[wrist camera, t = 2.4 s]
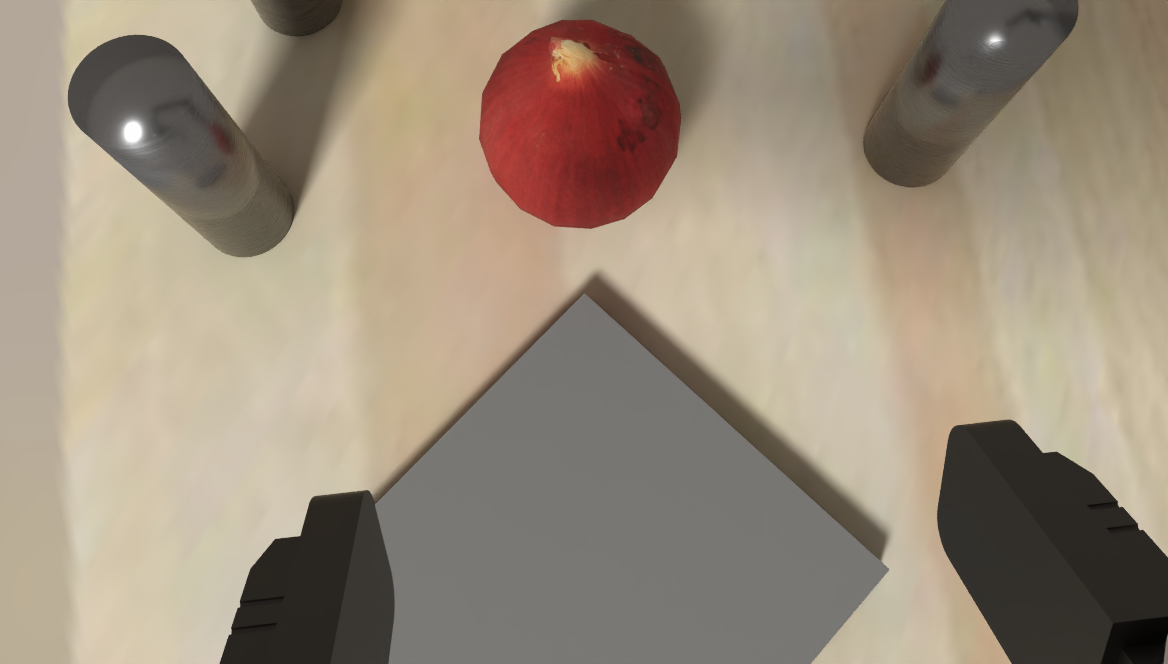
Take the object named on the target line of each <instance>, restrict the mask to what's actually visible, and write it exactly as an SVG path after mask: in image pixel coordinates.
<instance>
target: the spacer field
mask: <svg viewBox="0 0 1168 664" xmlns="http://www.w3.org/2000/svg"><path fill="white" fill-rule="evenodd" d="M251 2H252V3H253V5H254V7H255V8H256V10H257V12H258V14H259V15H260V17H261V18H262V20H263V21H264V23H265V24H266V25H267V26H269V27H270V28H271V29H273V30H274V31H276V32H279V33H281V34H285V35H290V36H302V35H308V34H311V33H314V32H316V31H319V30H320V29H322V28H324V27H325V26H326V25H328V24H329V23H330V22H331V21H332V20H333V19H334V17H335V16H336V15H337V13H338V11H339V9H340V6H341V3H342V0H251ZM1077 16H1078V0H946V2H945V3H944V5H943V6H942V8H941V10H940V11H939V13H938V14H937V16H936V17H935V19H934V21H933V22H932V24H931V25H930V27H929V29H928V30H927V32H926V33H925V35H924V37H923V38H922V40H921V41H920V43H919V44H918V46H917V48H916V49H915V51H914V52H913V54H912V56H911V57H910V59H909V60H908V62H907V64H906V65H905V67H904V68H903V70H902V71H901V73H900V75H899V76H898V78H897V79H896V81H895V83H894V84H893V86H892V87H891V89H890V91H889V92H888V94H887V95H886V97H885V98H884V100H883V102H882V103H881V105H880V106H879V108H878V110H877V111H876V113H875V114H874V116H873V118H872V119H871V121H870V122H869V124H868V126H867V128H866V130H865V134H864V140H863V145H864V152H865V155H866V158H867V160H868V162H869V163H870V165H871V167H872V168H873V169H874V170H875V171H876V172H877V173H878V174H879V175H880V176H881V177H883V178H884V179H886V180H887V181H889V182H891V183H894V184H896V185H900V186H905V187H920V186H925V185H928V184H931V183H933V182H935V181H936V180H938V179H939V178H940V177H942V176H943V175H944V174H945V172H946V171H947V170H948V169H949V168H950V167H951V166H952V165H953V164H954V162H955V161H956V160H957V159H958V158H959V157H960V156H961V155H962V154H963V152H964V151H965V150H966V149H967V148H968V147H969V146H970V145H971V144H972V142H973V141H974V140H975V139H976V138H977V137H978V136H979V135H980V134H981V132H982V131H983V130H984V129H985V128H986V127H987V126H988V125H989V124H990V122H991V121H992V120H993V119H994V118H995V117H996V116H997V115H998V114H999V112H1000V111H1001V110H1002V109H1003V108H1004V107H1005V106H1006V105H1007V103H1008V102H1009V101H1010V100H1011V99H1012V98H1013V97H1014V96H1015V95H1016V93H1017V92H1018V91H1019V90H1020V89H1021V88H1022V87H1023V86H1024V85H1025V83H1026V82H1027V81H1028V80H1029V79H1030V78H1031V77H1032V76H1033V75H1034V73H1035V72H1036V71H1037V70H1038V69H1039V68H1040V67H1041V66H1042V65H1043V63H1044V62H1045V61H1046V60H1047V59H1048V58H1049V57H1050V56H1051V55H1052V53H1053V52H1054V51H1055V50H1056V49H1057V48H1058V47H1059V46H1060V45H1061V43H1062V42H1063V41H1064V40H1065V39H1066V38H1067V37H1068V35H1069V34H1070V33H1071V31H1072V30H1073V28H1074V26H1075V23H1076V20H1077ZM68 105H69V109H70V113H71V115H72V118H73V120H74V121H75V123H76V124H77V126H78V127H79V128H80V129H81V130H82V131H83V132H84V133H85V134H86V135H88V136H89V137H90V138H91V139H92V140H93V141H94V142H96V143H97V144H98V145H99V146H100V147H101V148H102V149H104V150H105V151H106V152H107V153H108V154H109V155H110V156H112V157H113V158H114V159H115V160H116V161H117V162H118V163H120V164H121V165H122V166H123V167H124V168H125V169H126V170H128V171H129V172H130V173H131V174H132V175H133V176H134V177H136V178H137V179H138V180H139V181H140V182H141V183H142V184H144V185H145V186H146V187H147V188H148V189H149V190H150V191H151V192H153V193H154V194H155V195H156V196H157V197H158V198H159V199H161V200H162V201H163V202H164V203H165V204H166V205H167V206H169V207H170V208H171V209H172V210H173V211H174V212H175V213H177V214H178V215H179V216H180V217H181V218H182V219H183V220H185V221H186V222H187V223H188V224H189V225H190V226H191V227H193V228H194V229H195V230H196V231H197V232H198V233H199V234H201V235H202V236H203V237H204V238H205V239H206V240H207V241H209V242H210V243H211V244H212V245H213V246H214V247H216V248H217V249H218V250H220V251H221V252H223V253H225V254H228V255H231V256H236V257H251V256H256V255H259V254H262V253H264V252H267V251H269V250H270V249H272V248H273V247H275V246H276V245H277V244H278V243H279V242H280V241H281V240H282V239H283V238H284V236H285V235H286V234H287V232H288V230H289V228H290V226H291V223H292V219H293V213H294V210H293V201H292V198H291V195H290V193H289V191H288V190H287V188H286V187H285V186H284V184H283V183H282V182H281V181H280V179H279V178H278V177H277V175H276V174H275V173H274V172H273V170H272V169H271V168H270V166H269V165H268V164H267V163H266V161H265V160H264V159H263V158H262V156H261V155H260V154H259V152H258V151H257V150H256V149H255V147H254V146H253V145H252V143H251V142H250V141H249V140H248V138H247V137H246V136H245V135H244V133H243V132H242V131H241V129H240V128H239V127H238V126H237V124H236V123H235V122H234V120H233V119H232V118H231V117H230V115H229V114H228V113H227V111H226V110H225V109H224V108H223V106H222V105H221V104H220V103H219V101H218V100H217V99H216V97H215V96H214V95H213V94H212V92H211V91H210V90H209V88H208V87H207V86H206V85H205V83H204V82H203V81H202V79H201V78H200V77H199V76H198V74H197V73H196V72H195V71H194V69H193V68H192V67H191V65H190V64H189V63H188V62H187V60H186V59H185V58H184V56H183V55H182V54H181V53H180V52H179V51H178V50H177V49H176V48H175V47H174V46H172V45H171V44H169V43H168V42H166V41H164V40H162V39H159V38H156V37H152V36H146V35H128V36H123V37H119V38H116V39H112V40H110V41H108V42H106V43H104V44H102V45H100V46H98V47H97V48H96V49H94V50H93V51H91V52H90V53H89V54H88V55H87V56H86V57H85V58H84V59H83V60H82V61H81V63H80V64H79V65H78V67H77V68H76V70H75V72H74V74H73V76H72V79H71V81H70V85H69V90H68Z"/></svg>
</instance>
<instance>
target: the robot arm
mask: <svg viewBox="0 0 1168 664" xmlns="http://www.w3.org/2000/svg"><path fill="white" fill-rule="evenodd" d="M937 521H938V530H939V534H940V539H941V542H942V545H943V548H944V550H945V552H946V554H947V556H948V558H949V560H950V562H951V563H952V565H953V567H954V568H955V570H956V572H957V573H958V575H959V576H960V578H961V580H962V581H963V583H964V585H965V586H966V588H967V590H968V591H969V593H970V595H971V596H972V598H973V600H974V601H975V603H976V605H977V606H978V608H979V610H980V611H981V613H982V615H983V616H984V618H985V620H986V621H987V623H988V625H989V626H990V628H991V630H992V631H993V633H994V635H995V636H996V638H997V640H998V641H999V643H1000V645H1001V646H1002V648H1003V650H1004V651H1005V653H1006V655H1007V656H1008V658H1009V660H1010V661H1011V663H1012V664H1168V557H1167V556H1166V555H1165V554H1164V553H1163V552H1162V551H1161V549H1160V548H1159V547H1158V546H1157V545H1156V544H1155V543H1154V542H1153V540H1152V539H1151V538H1150V537H1149V536H1148V535H1147V534H1146V533H1145V531H1144V530H1139V529H1138V524H1137V523H1136V521H1135V520H1134V519H1133V518H1132V517H1131V516H1130V515H1129V514H1128V512H1127V511H1126V510H1125V509H1124V508H1123V507H1119V506H1118V501H1117V500H1116V499H1115V498H1114V497H1113V496H1112V495H1111V493H1110V492H1109V491H1108V490H1107V489H1106V488H1105V487H1104V486H1103V485H1102V483H1101V482H1100V481H1099V480H1098V479H1097V478H1096V477H1095V476H1094V474H1092V473H1091V472H1089V471H1087V470H1086V469H1084V468H1083V467H1081V466H1079V465H1078V464H1076V463H1074V462H1073V461H1071V460H1069V459H1068V458H1066V457H1065V456H1063V455H1061V454H1060V453H1058V452H1049V453H1042V451H1041V450H1040V449H1039V448H1038V447H1037V446H1036V444H1035V443H1034V442H1033V441H1032V440H1031V438H1030V437H1029V436H1028V435H1027V434H1026V433H1025V431H1024V430H1023V429H1022V428H1021V427H1020V426H1019V425H1018V424H1017V423H1016V422H1015V421H1012V420H1000V421H992V422H983V423H974V424H965V425H957V426H955V427H954V428H952V430H951V432H950V434H949V438H948V444H947V450H946V457H945V464H944V470H943V477H942V483H941V490H940V496H939V503H938V511H937ZM394 613H395V597H394V584H393V577H392V572H391V568H390V564H389V560H388V556H387V552H386V548H385V544H384V539H383V535H382V531H381V527H380V523H379V519H378V515H377V511H376V507H375V503H374V500H373V497H372V495H371V493H370V492H369V491H368V490H365V491H356V492H347V493H339V494H330V495H321V496H314V497H313V498H312V499H311V501H310V503H309V506H308V510H307V514H306V518H305V521H304V525H303V529H302V532H301V536H298V537H289V538H280V539H275V540H274V541H273V542H272V544H271V545H270V546H269V547H268V548H267V550H266V551H265V552H264V553H263V554H262V556H261V557H260V558H259V559H258V560H257V562H256V563H255V564H254V565H253V566H252V568H251V569H250V572H249V575H248V578H247V581H246V584H245V587H244V590H243V593H242V596H241V599H240V608H238V609H237V612H236V615H235V618H234V621H233V624H232V627H231V629H232V634H231V635H229V636H228V639H227V643H226V646H225V649H224V652H223V655H222V658H221V661H220V664H388V663H389V655H390V647H391V639H392V632H393V624H394Z"/></svg>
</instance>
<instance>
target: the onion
mask: <svg viewBox="0 0 1168 664" xmlns="http://www.w3.org/2000/svg"><path fill="white" fill-rule="evenodd" d="M680 122H681V113H680V104H679V101H678V99H677V96H676V94H675V91H674V89H673V86H672V84H671V81H670V79H669V76H668V74H667V71H666V69H665V67H664V65H663V63H662V62H661V60H660V58H659V57H658V56H657V55H655V54H654V53H653V52H651V51H650V50H649V49H648V48H646V47H645V46H644V45H642V44H641V43H640V42H639V41H637V40H636V39H635V38H633V37H632V36H631V35H629V34H626V33H623V32H620V31H618V30H616V29H613V28H611V27H608V26H606V25H603V24H601V23H599V22H596V21H594V20H561V21H558V22H556V23H553V24H550V25H548V26H545V27H542V28H540V29H537V30H534V31H532V32H531V33H529V34H528V35H527V36H526V37H524V38H523V39H522V40H521V41H519V42H518V43H517V44H516V45H514V46H513V47H512V48H510V49H509V50H508V51H506V52H505V53H504V54H502V56H501V58H500V60H499V62H498V64H497V66H496V68H495V69H494V71H493V73H492V75H491V77H490V79H489V81H488V83H487V85H486V87H485V89H484V91H483V93H482V104H481V120H480V135H479V140H480V143H481V145H482V148H483V151H484V154H485V157H486V160H487V163H488V166H489V168H490V171H491V174H492V175H493V177H494V179H495V181H496V182H497V183H498V185H499V186H500V187H501V188H502V189H503V190H504V191H505V192H506V193H507V195H508V196H509V197H510V198H511V199H512V200H513V201H514V202H515V204H516V205H517V206H518V207H519V208H520V209H521V210H523V211H525V212H527V213H529V214H531V215H533V216H535V217H537V218H539V219H541V220H543V221H545V222H547V223H549V224H551V225H553V226H557V227H573V228H588V229H592V228H595V227H599V226H602V225H605V224H609V223H612V222H615V221H619V220H622V219H625V218H626V217H628V216H629V215H630V214H632V213H633V212H634V211H636V210H637V209H638V208H640V207H641V206H642V205H644V204H645V203H646V202H648V201H649V200H650V199H652V198H653V196H654V194H655V193H656V191H657V190H658V188H659V186H660V184H661V183H662V181H663V179H664V178H665V176H666V174H667V173H668V171H669V169H670V168H671V166H672V164H673V162H674V160H675V159H676V157H677V151H678V141H679V132H680Z"/></svg>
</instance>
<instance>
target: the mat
mask: <svg viewBox="0 0 1168 664" xmlns="http://www.w3.org/2000/svg"><path fill="white" fill-rule="evenodd" d="M375 507H376V511H377V515H378V519H379V523H380V527H381V531H382V535H383V539H384V544H385V548H386V552H387V556H388V560H389V564H390V568H391V572H392V577H393V584H394V597H395V613H394V624H393V632H392V639H391V647H390V655H389V663H388V664H811V663H812V661H813V660H814V659H815V658H816V657H817V656H818V654H819V653H820V652H821V651H822V650H823V648H824V647H825V646H826V645H827V644H828V642H829V641H830V640H831V639H832V638H833V636H834V635H835V634H836V633H837V632H838V630H839V629H840V628H841V627H842V626H843V624H844V623H845V622H846V621H847V620H848V618H849V617H850V616H851V615H852V614H853V612H854V611H855V610H856V609H857V608H858V607H859V605H860V604H861V603H862V602H863V601H864V599H865V598H866V597H867V596H868V595H869V593H870V592H871V591H872V590H873V589H874V587H875V586H876V585H877V584H878V583H879V581H880V580H881V579H882V578H883V577H884V575H885V574H886V573H887V572H888V571H889V568H887V567H886V566H885V565H884V564H883V563H882V562H881V561H880V560H879V559H877V558H876V557H875V556H874V555H873V554H872V553H871V552H870V551H869V550H868V549H866V548H865V547H864V546H863V545H862V544H861V543H860V542H859V541H858V540H857V539H855V538H854V537H853V536H852V535H851V534H850V533H849V532H848V531H847V530H845V529H844V528H843V527H842V526H841V525H840V524H839V523H838V522H837V521H836V520H834V519H833V518H832V517H831V516H830V515H829V514H828V513H827V512H826V511H824V510H823V509H822V508H821V507H820V506H819V505H818V504H817V503H816V502H815V501H813V500H812V499H811V498H810V497H809V496H808V495H807V494H806V493H805V492H804V491H802V490H801V489H800V488H799V487H798V486H797V485H796V484H795V483H794V482H792V481H791V480H790V479H789V478H788V477H787V476H786V475H785V474H784V473H783V472H781V471H780V470H779V469H778V468H777V467H776V466H775V465H774V464H773V463H772V462H770V461H769V460H768V459H767V458H766V457H765V456H764V455H763V454H762V453H760V452H759V451H758V450H757V449H756V448H755V447H754V446H753V445H752V444H751V443H749V442H748V441H747V440H746V439H745V438H744V437H743V436H742V435H741V434H740V433H738V432H737V431H736V430H735V429H734V428H733V427H732V426H731V425H730V424H728V423H727V422H726V421H725V420H724V419H723V418H722V417H721V416H720V415H719V414H717V413H716V412H715V411H714V410H713V409H712V408H711V407H710V406H709V405H708V404H706V403H705V402H704V401H703V400H702V399H701V398H700V397H699V396H698V395H696V394H695V393H694V392H693V391H692V390H691V389H690V388H689V387H688V386H687V385H685V384H684V383H683V382H682V381H681V380H680V379H679V378H678V377H677V376H675V375H674V374H673V373H672V372H671V371H670V370H669V369H668V368H667V367H666V366H664V365H663V364H662V363H661V362H660V361H659V360H658V359H657V358H656V357H655V356H653V355H652V354H651V353H650V352H649V351H648V350H647V349H646V348H645V347H643V346H642V345H641V344H640V343H639V342H638V341H637V340H636V339H635V338H634V337H632V336H631V335H630V334H629V333H628V332H627V331H626V330H625V329H624V328H623V327H621V326H620V325H619V324H618V323H617V322H616V321H615V320H614V319H613V318H611V317H610V316H609V315H608V314H607V313H606V312H605V311H604V310H603V309H602V308H600V307H599V306H598V305H597V304H596V303H595V302H594V301H593V300H592V299H591V298H589V297H588V296H587V295H586V294H585V293H584V294H583V295H582V296H581V297H580V298H579V299H578V300H577V301H576V302H575V303H574V304H573V305H572V306H571V307H570V308H569V309H568V310H567V311H566V312H565V313H564V314H563V315H562V316H561V317H560V318H559V319H558V320H557V321H556V322H555V323H554V324H553V325H552V326H551V327H550V328H549V329H548V330H547V331H546V332H545V333H544V334H543V335H542V336H541V337H540V338H539V339H538V340H537V341H536V342H535V344H534V345H533V346H532V347H531V348H530V349H529V350H528V351H527V352H526V353H525V354H524V355H523V356H522V357H521V358H520V359H519V360H518V361H517V362H516V363H515V364H514V365H513V366H512V367H511V368H510V369H509V370H508V371H507V372H506V373H505V374H504V375H503V376H502V377H501V378H500V379H499V380H498V381H497V382H496V383H495V384H494V385H493V386H492V387H491V388H490V389H489V390H488V391H487V392H486V393H485V394H484V395H483V396H482V397H481V398H480V399H479V400H478V401H477V402H476V403H475V404H474V405H473V406H472V407H471V408H470V409H469V410H468V411H467V412H466V413H465V414H464V415H463V416H462V417H461V418H460V419H459V420H458V421H457V422H456V423H455V424H454V425H453V426H452V427H451V428H450V429H449V430H448V431H447V432H446V433H445V434H444V435H443V436H442V437H441V438H440V439H439V440H438V441H437V442H436V443H435V444H434V445H433V446H432V447H431V448H430V450H429V451H428V452H427V453H426V454H425V455H424V456H423V457H422V458H421V459H420V460H419V461H418V462H417V463H416V464H415V465H414V466H413V467H412V468H411V469H410V470H409V471H408V472H407V473H406V474H405V475H404V476H403V477H402V478H401V479H400V480H399V481H398V482H397V483H396V484H395V485H394V486H393V487H392V488H391V489H390V490H389V491H388V492H387V493H386V494H385V495H384V496H383V497H382V498H381V499H380V500H379V501H378V502H377V503H376V504H375Z"/></svg>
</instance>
